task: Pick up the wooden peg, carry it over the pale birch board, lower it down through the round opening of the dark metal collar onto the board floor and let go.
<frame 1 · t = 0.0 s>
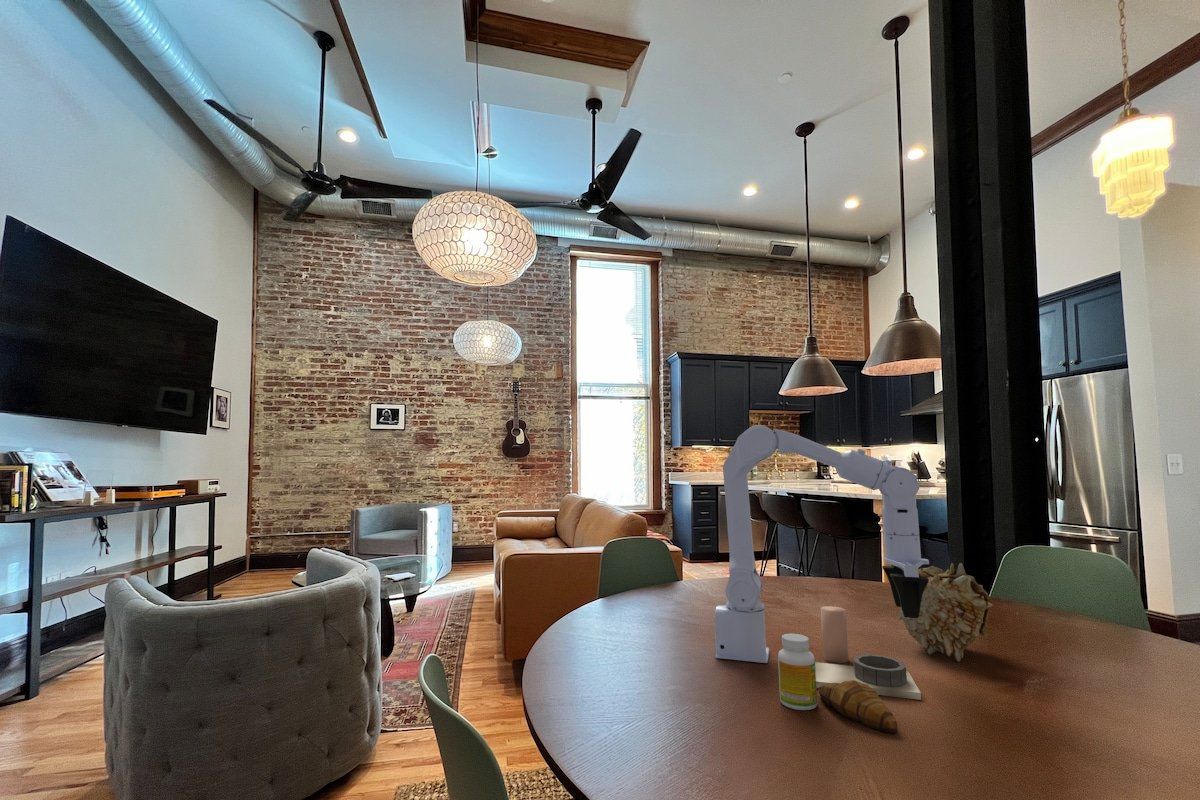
hand: (906, 611, 98), 10 cm above the table, fingers open, 7 cm apart
seashell: (948, 652, 107), on the table
croissant: (856, 717, 80), on the table
supplement bottle: (798, 705, 84), on the table
peg: (835, 659, 103), on the table
holder board: (847, 680, 93), on the table
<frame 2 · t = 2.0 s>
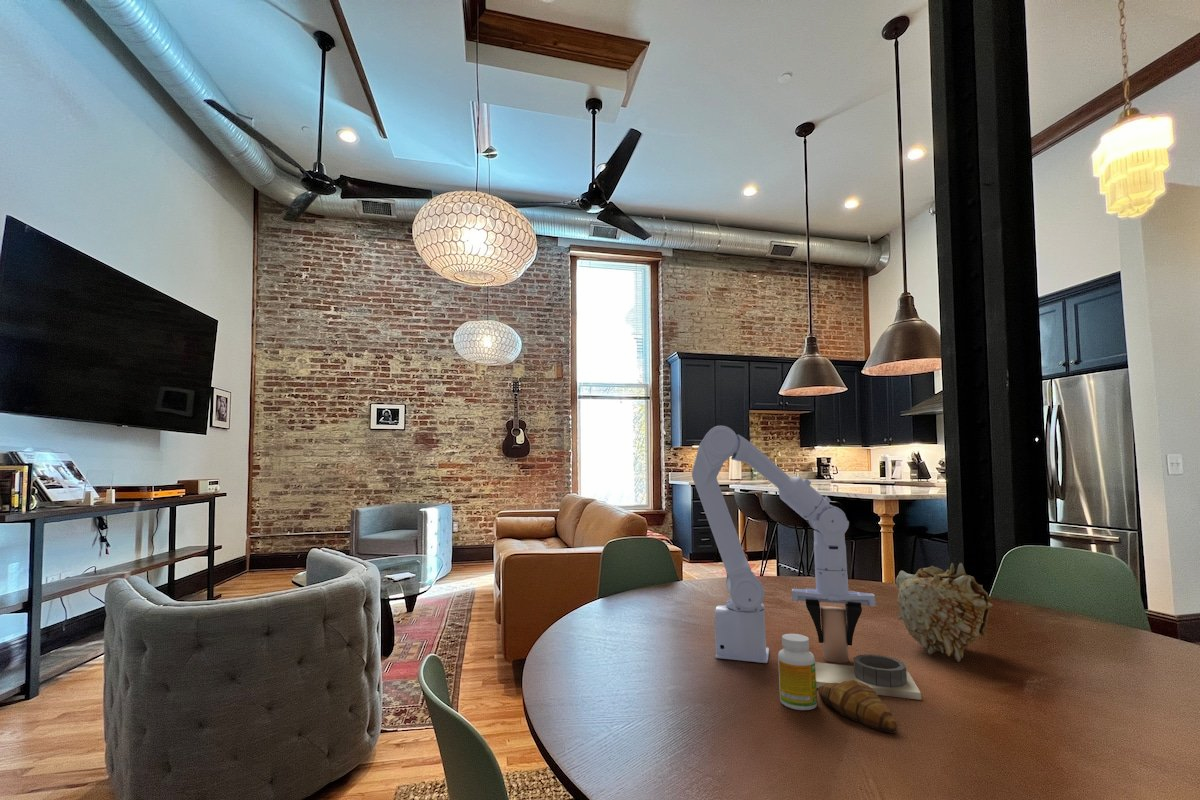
hand: (834, 642, 104), 3 cm above the table, fingers closed on peg, 4 cm apart
peg: (835, 658, 103), on the table, touching gripper
everything else where it was.
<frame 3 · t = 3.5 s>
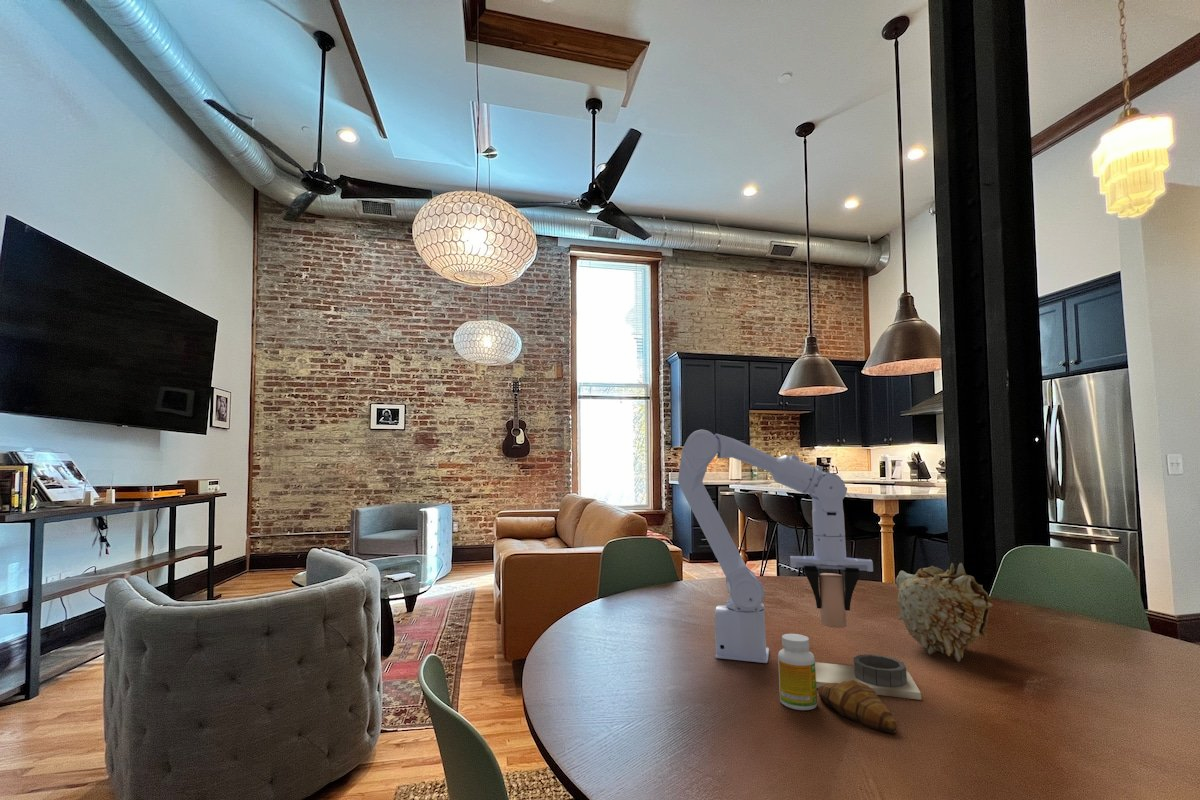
hand: (832, 608, 104), 9 cm above the table, fingers closed on peg, 4 cm apart
peg: (833, 624, 104), point 6 cm above the table, touching gripper
everything else where it was.
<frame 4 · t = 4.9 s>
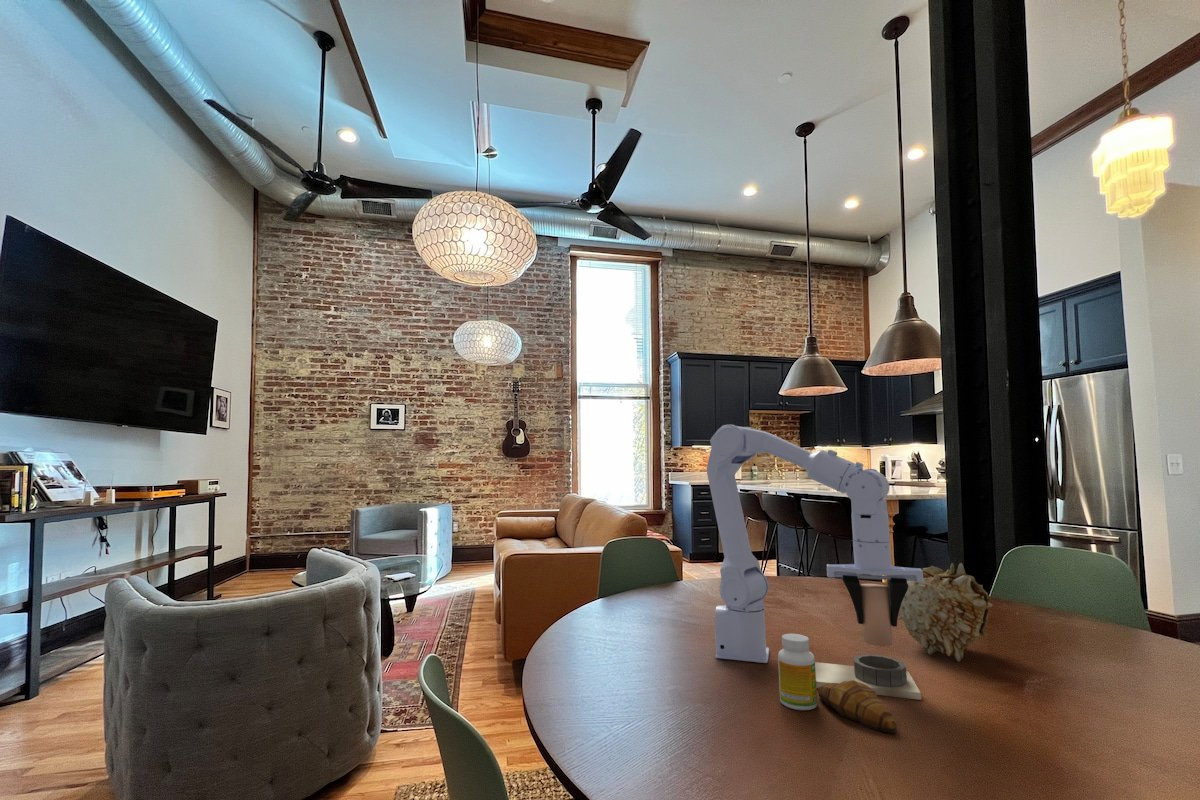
hand: (876, 623, 92), 10 cm above the table, fingers closed on peg, 4 cm apart
peg: (877, 641, 92), point 7 cm above the table, touching gripper
everything else where it was.
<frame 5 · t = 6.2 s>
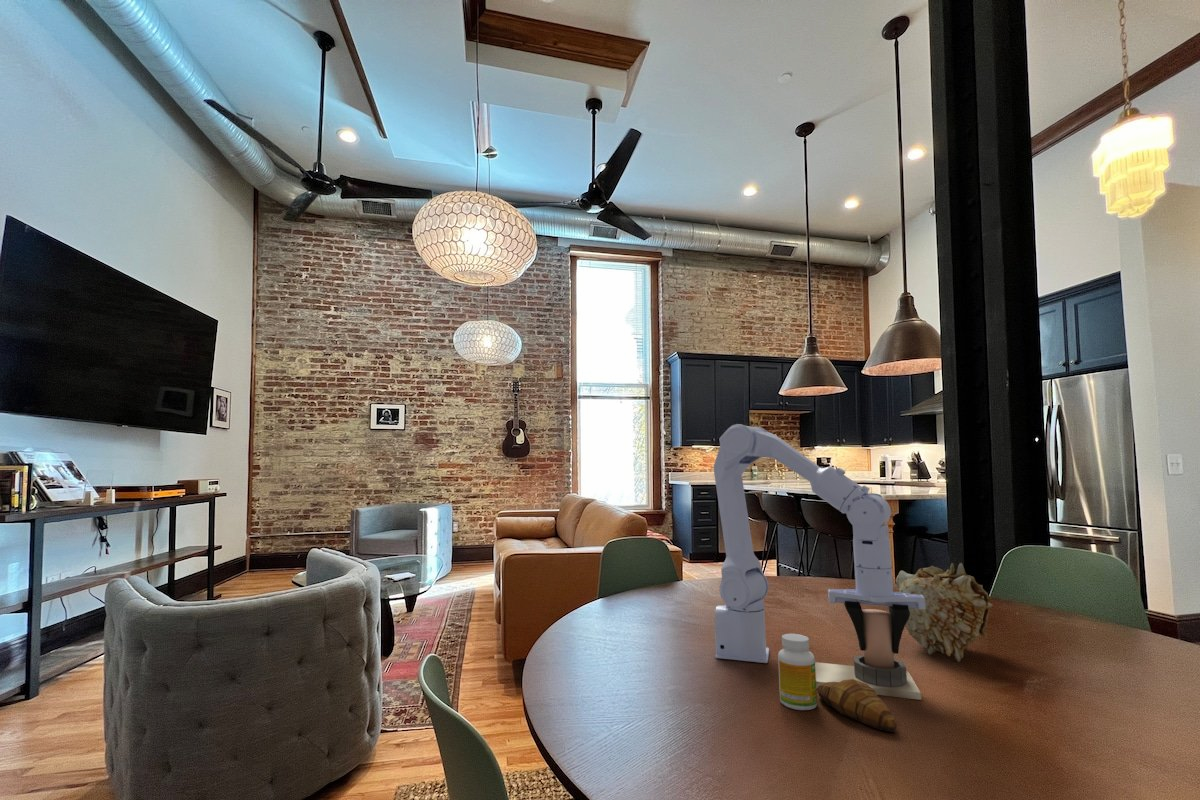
hand: (878, 650, 92), 5 cm above the table, fingers closed on peg, 4 cm apart
peg: (879, 668, 91), point 2 cm above the table, touching gripper
everything else where it was.
when the fingers open (5 cm above the table, at t = 6.4 s): peg drops 1 cm, resting on holder board.
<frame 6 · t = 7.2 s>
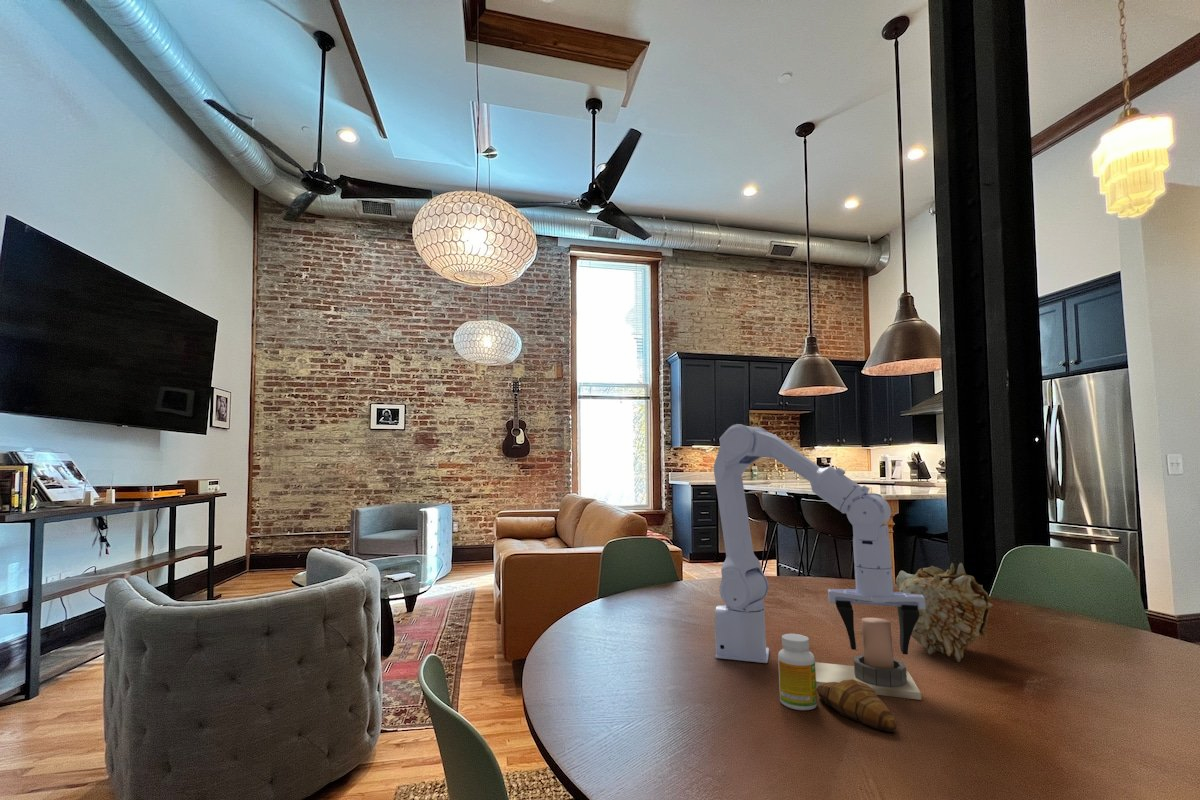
hand: (878, 650, 92), 5 cm above the table, fingers open, 7 cm apart
peg: (879, 677, 91), point 1 cm above the table, touching holder board
everything else where it was.
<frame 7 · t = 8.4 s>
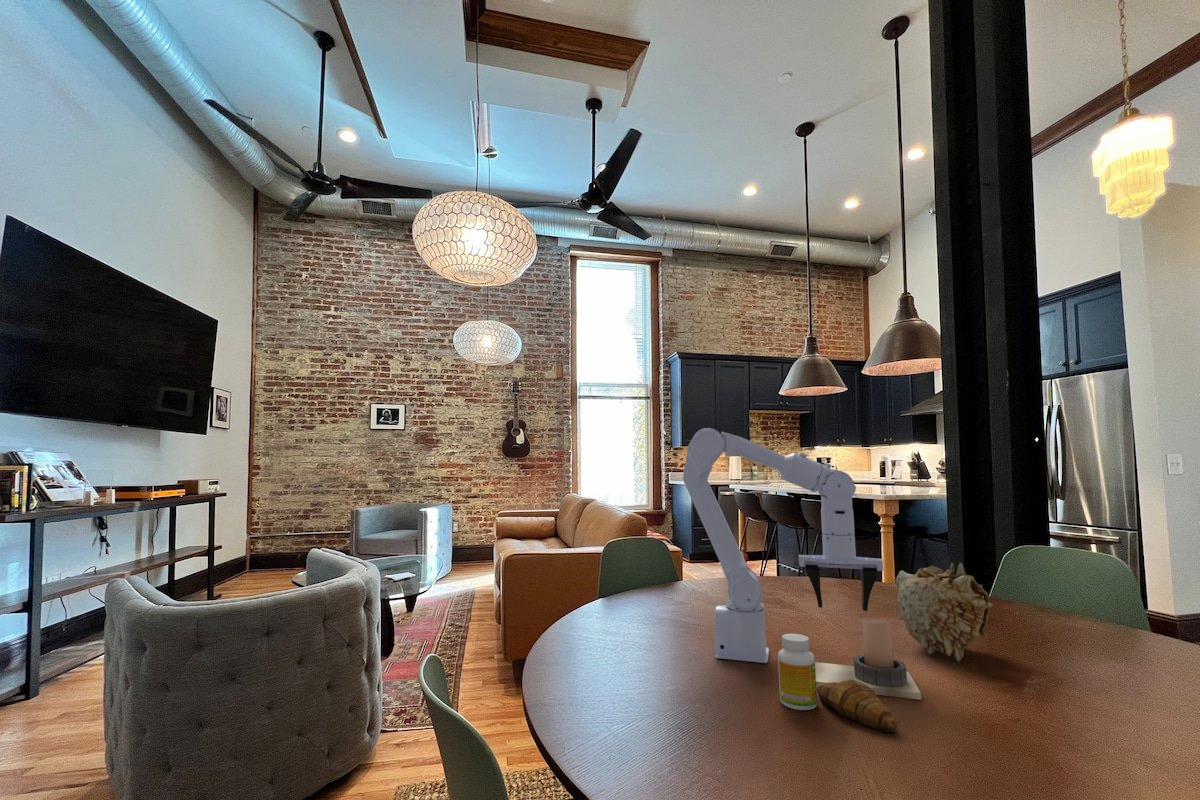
hand: (842, 607, 103), 10 cm above the table, fingers open, 7 cm apart
nothing on the table moved.
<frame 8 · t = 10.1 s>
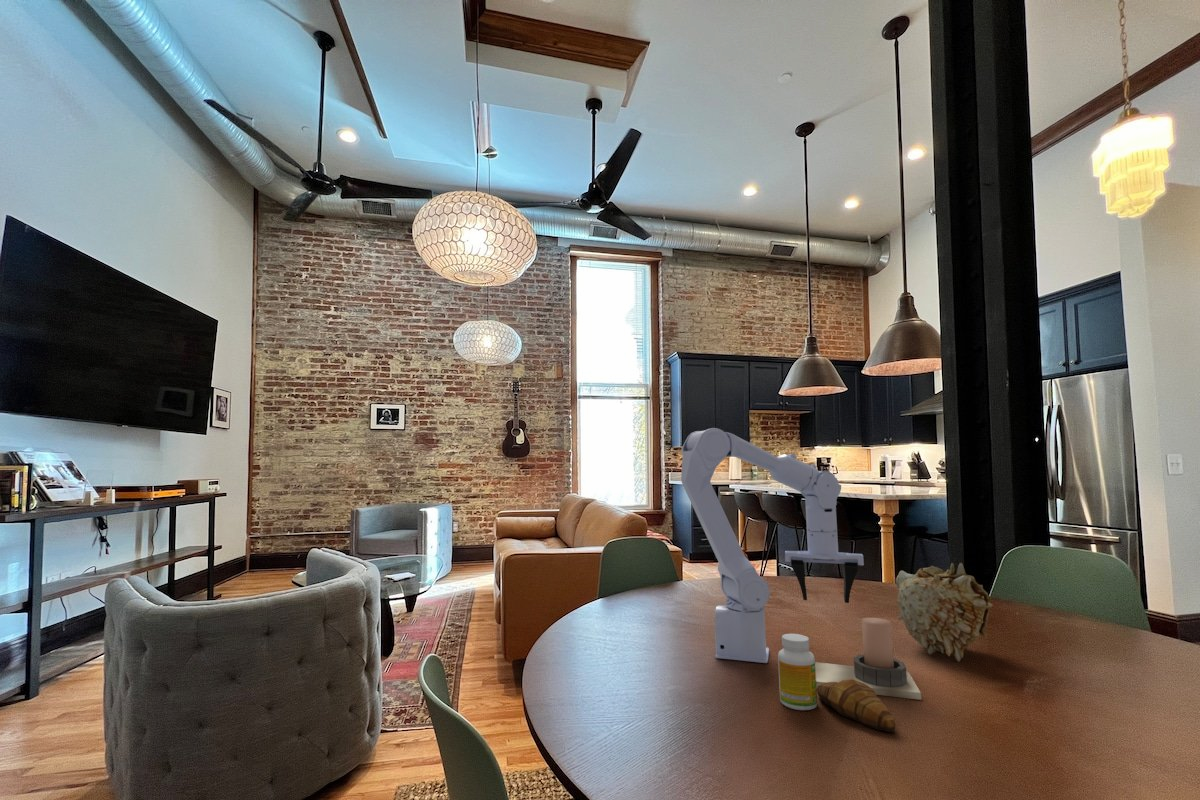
hand: (825, 600, 109), 9 cm above the table, fingers open, 7 cm apart
nothing on the table moved.
at the end: peg 0.1 cm from the target spot on the holder board, point 1.0 cm above the holder board's base; peg tilted 1°; the gripper is holding nothing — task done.
